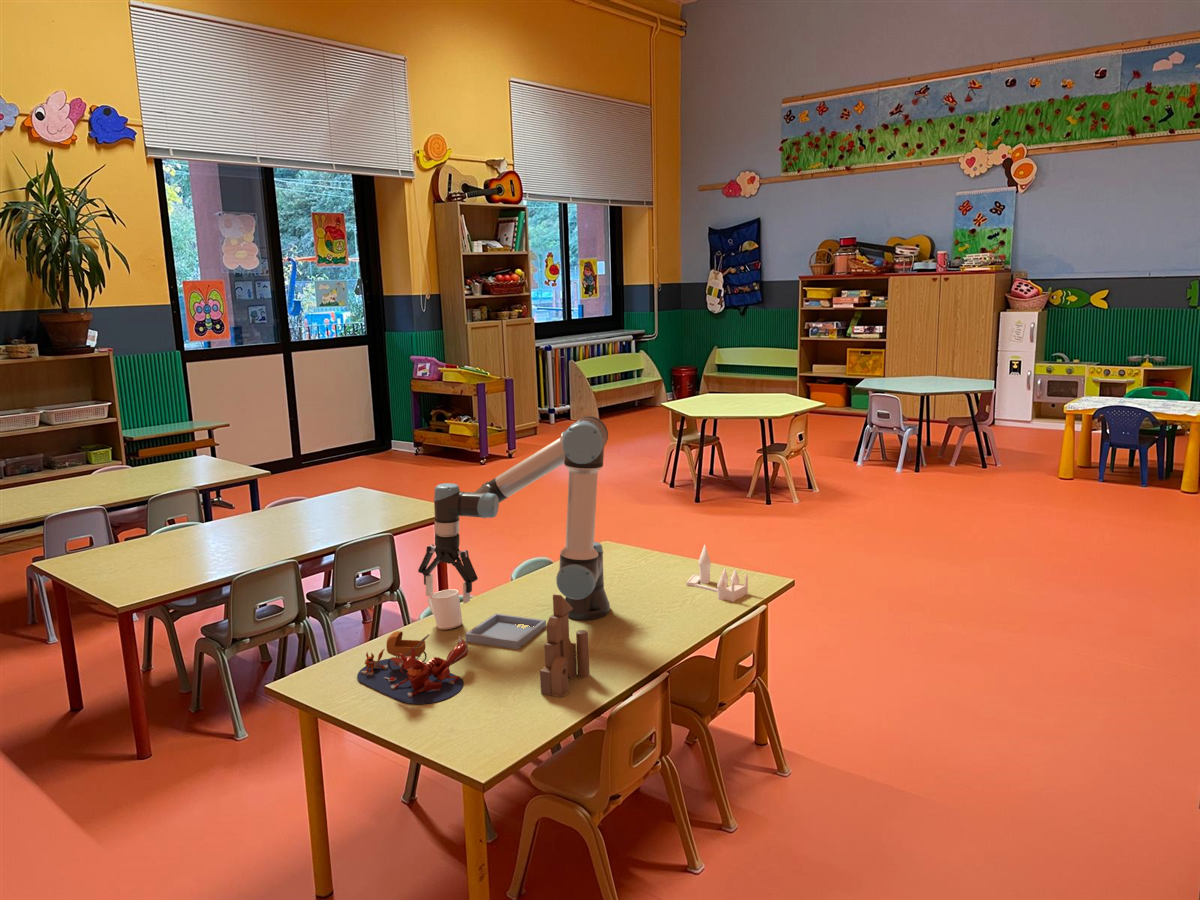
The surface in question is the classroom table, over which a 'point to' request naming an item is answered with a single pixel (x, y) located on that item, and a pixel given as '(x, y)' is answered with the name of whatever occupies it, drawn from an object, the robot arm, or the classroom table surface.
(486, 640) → the tray
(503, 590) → the classroom table surface
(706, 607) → the classroom table surface
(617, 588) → the classroom table surface
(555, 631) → the wooden toy
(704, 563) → the toy castle
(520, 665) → the classroom table surface
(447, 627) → the mug
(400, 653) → the toy playset
